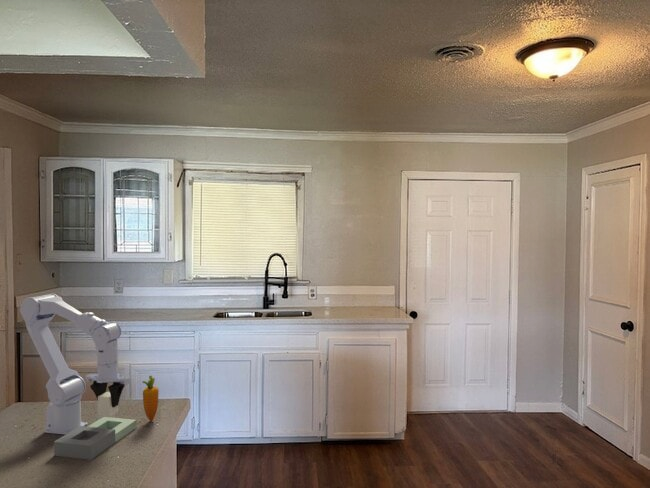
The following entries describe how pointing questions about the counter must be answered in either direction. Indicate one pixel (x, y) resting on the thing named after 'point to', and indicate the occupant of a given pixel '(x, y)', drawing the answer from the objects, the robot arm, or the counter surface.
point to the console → (93, 438)
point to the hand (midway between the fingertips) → (108, 405)
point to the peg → (106, 405)
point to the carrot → (150, 398)
